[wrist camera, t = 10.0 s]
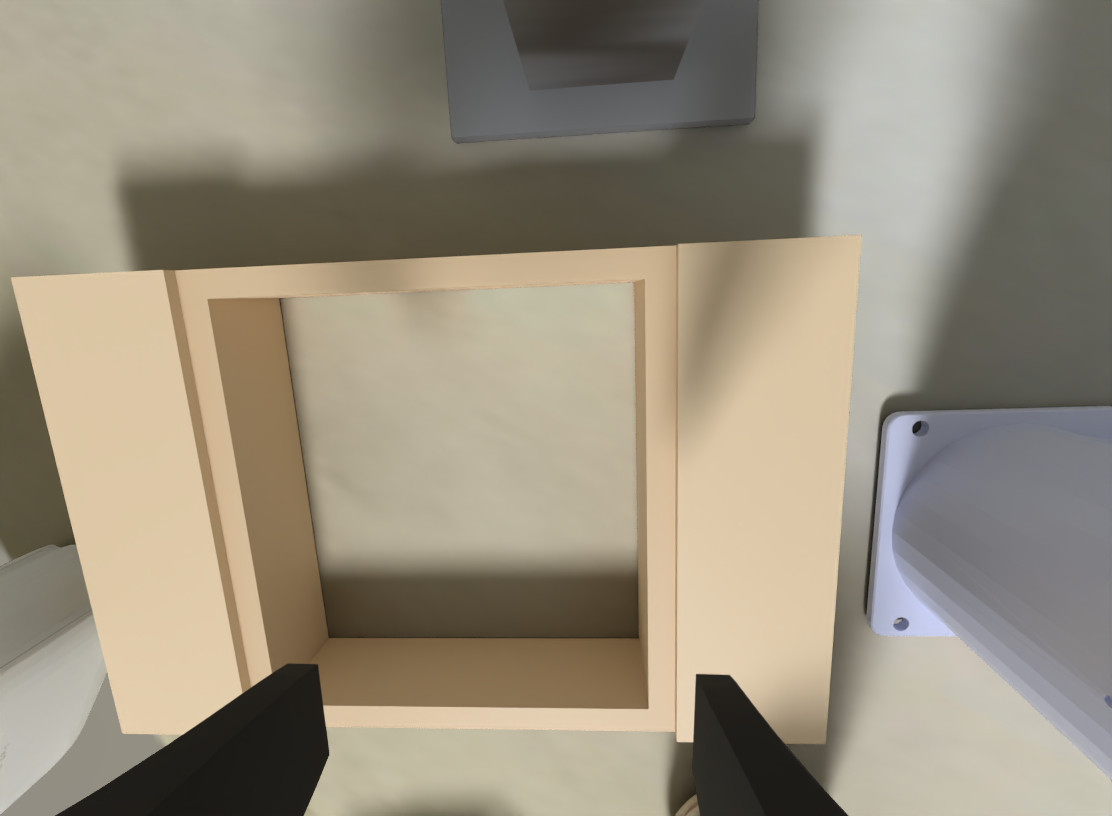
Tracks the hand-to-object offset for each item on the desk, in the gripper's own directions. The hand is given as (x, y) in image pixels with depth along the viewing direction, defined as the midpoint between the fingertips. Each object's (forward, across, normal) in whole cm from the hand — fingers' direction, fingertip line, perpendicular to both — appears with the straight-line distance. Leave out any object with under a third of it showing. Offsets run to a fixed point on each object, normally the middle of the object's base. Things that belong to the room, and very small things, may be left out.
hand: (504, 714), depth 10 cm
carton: (+9, +3, -1) cm, 10 cm away
